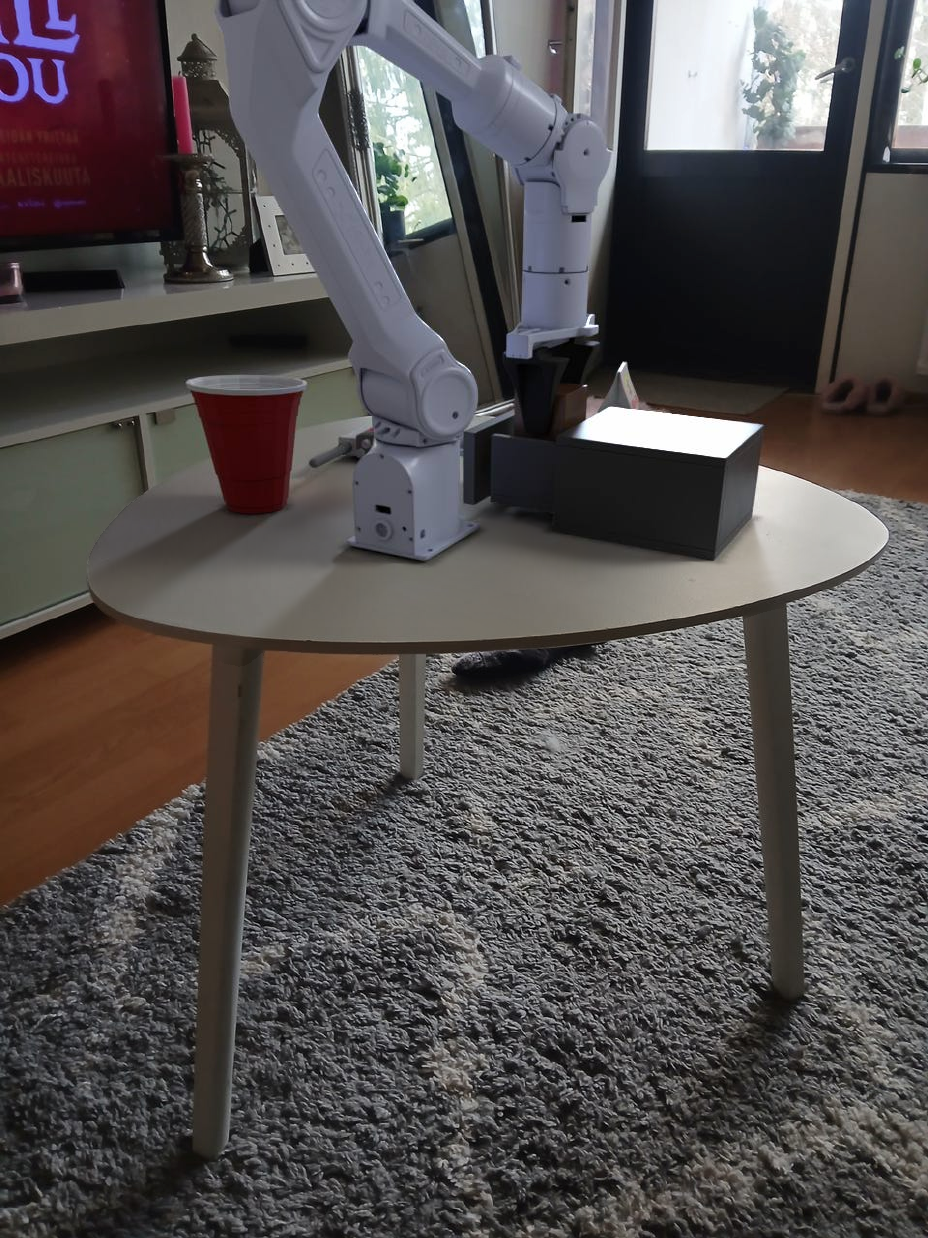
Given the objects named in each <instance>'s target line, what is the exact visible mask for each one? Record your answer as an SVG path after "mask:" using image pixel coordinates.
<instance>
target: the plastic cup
mask: <svg viewBox="0 0 928 1238" xmlns="http://www.w3.org/2000/svg"><path fill="white" fill-rule="evenodd" d="M185 386H186V388H187V389H188V390H190V393H191V395H192V398H193V401H194V406H196V409H197V413H198V417H199V418H200V421H201V424H202V425H201V426H202V428H203V432H204V435H205V436H204V437H205V439H206V444H207V447H208V450H209V454H210V458H211V462H212V465H213V469H214V473H215V475H216V476H217V480H218V484H219V487H220V490H221V495H222V498H223V501H224V503H225V505H226V508H227V509H229V510H230V511H231V512H234V513H238V514H247V515H248V514H250V515H253V514H266V513H270V512H275V511H278V510H280V509H283V508H284V507H286V506H287V504H288V499H289V495H290V481H291V472H292V470H293V469H292V468H293V461H294V460H293V459H294V448H295V436H296V427H297V419H298V416H299V408H300V405H301V399H302V397H303V393H304V391H305V390H307V386H308V381H306V380H303V379H300V378H294V377H287V376H279V375H278V376H277V375H263V374H262V375H261V374H229V375H227V374H225V375H209V376H199V377H195V378H190V379H187V380H186V381H185Z"/></svg>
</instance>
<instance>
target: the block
mask: <svg viewBox="0 0 928 1238" xmlns="http://www.w3.org/2000/svg"><path fill="white" fill-rule="evenodd" d="M588 386H589V385H588V384H583V385H582V384H572V383H563V382H560V383H559V386H558V390H557V394H556V399H555V405H554V413H553V419H552V423H551V427H550V430H549V433H548V434H547V435H540V434H532V433H526V431H525V428H524V424H523V419H522V414H521V409H520V405H519V401H518V397H517V393H516V390H515V389H514V409H515V410H514V436H517V437H524V438H531V439H539V440H546V441H553V442H556V436H557V435H559V434H561V433H562V432H564V431H566V430H568V429H570V428H572V427H574V426H576V425H578V424H579V423H581V422H583V421H585V420H586V419H587V404H588V389H589V387H588Z"/></svg>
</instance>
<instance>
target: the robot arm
mask: <svg viewBox="0 0 928 1238" xmlns="http://www.w3.org/2000/svg"><path fill="white" fill-rule="evenodd" d="M213 17H214V19H215V22H216V24H217V26H218V29H219V30H220V32H221V34H222V39H223V47H224V48H223V49H224V59H225V60H224V61H225V69H226V70H225V71H226V79H227V90H228V102H229V110H230V116H231V119H232V121H233V124H234V126H235V129H236V130H237V132H238V134H239V135H240V138H241V139H242V142H243V143H244V145H245V147H246V149H247V151H248V152H249V154H250V156H251V158H252V159H253V162H254V163H255V165H256V167H257V169H258V170H259V172H260V174H261V176H262V177H263V179H264V181H265V183H266V185H267V187H268V189H269V191H270V192H271V194H272V196H273V198H274V199H275V201H276V203H277V205H278V207H279V209H280V210H281V212H282V214H283V217H284V218H285V220H286V221H287V224H288V225H289V227H290V229H291V230H292V233H293V234H294V236H295V238H296V239H297V242H298V243H299V245H300V247H301V249H302V250H303V252H304V254H305V256H306V258H307V259H308V261H309V264H310V265H311V267H312V269H313V271H314V273H315V274H316V277H318V280H319V281H320V284H321V285H322V287H323V289H324V290H325V292H326V295H327V296H328V298H329V300H330V301H331V303H332V305H333V307H334V309H335V310H336V312H337V314H338V317H339V318H340V321H341V322H342V323H343V325H344V327H345V328H346V330H347V333H348V334H349V336H350V338H351V340H352V344H351V347H350V348H349V351H348V353H347V359H348V361H349V363H350V365H351V366H352V369H353V371H354V374H355V378H356V391H357V397H358V400H359V402H360V405H361V406H362V408H363V409H364V410H365V411H366V412H367V414H369V415H370V416H371V422H372V423H371V427H372V429H373V430H374V440H373V445H372V447H371V449H370V451H369V452H368V453H367V454H366V455H364V456H363V457H362V458H361V459H359V460H358V461H357V463H356V465H355V467H354V470H353V473H352V495H353V497H352V498H353V515H354V517H353V519H354V535H353V536H351V537H349V538H348V539H347V540H346V544H347V545H348V546H350V547H355V548H359V549H364V550H369V551H373V552H379V553H383V554H387V555H393V556H398V557H402V558H406V559H412V560H416V561H417V560H418V561H422V562H423V561H425V562H426V561H429V560H431V559H432V558H434V557H435V556H437V555H438V554H440V553H442V552H443V551H445V550H447V549H448V548H450V547H451V546H453V545H454V544H456V543H458V542H459V541H461V540H463V539H464V538H467V536H469V535H470V534H472V533H474V532H475V531H477V530H479V528H480V524H479V523H478V522H475V521H469V520H464V519H461V456H460V440H462V439H463V431H466V430H467V429H468V427H469V426H470V425H471V423H472V421H473V419H474V417H475V415H476V412H477V408H478V403H479V390H478V385H477V381H476V378H475V377H474V375H473V373H472V371H470V369H468V368H467V366H465V365H464V364H462V363H461V362H460V361H458V360H457V359H456V358H455V357H454V356H453V355H452V353H451V351H450V349H449V348H448V346H447V344H446V342H445V340H444V339H443V338H442V337H441V336H440V335H439V334H438V333H437V332H435V331H434V330H433V329H432V328H431V327H430V326H429V325H428V324H427V323H426V322H425V321H423V320H422V318H420V317H419V315H417V313H416V311H415V309H414V307H413V305H412V303H411V301H410V299H409V297H408V295H407V293H406V291H405V289H404V287H403V284H402V283H401V281H400V279H399V277H398V275H397V273H396V270H395V268H394V267H393V264H392V262H391V261H390V258H389V256H388V255H387V252H386V250H385V248H384V246H383V244H382V242H381V240H380V238H379V236H378V234H377V232H376V230H375V227H374V226H373V223H372V222H371V220H370V217H369V216H368V214H367V211H366V209H365V208H364V205H363V203H362V201H361V199H360V197H359V195H358V193H357V191H356V189H355V187H354V184H353V183H352V181H351V179H350V177H349V175H348V173H347V171H346V169H345V167H344V165H343V163H342V161H341V158H340V157H339V154H338V152H337V150H336V148H335V146H334V144H333V143H332V140H331V138H330V137H329V134H328V132H327V130H326V128H325V126H324V124H323V122H322V120H321V118H320V116H319V115H320V114H319V108H320V105H321V102H322V98H323V95H324V92H325V87H326V84H327V81H328V78H329V74H330V72H331V71H332V69H334V66H335V65H336V63H337V62H338V60H339V59H340V57H341V56H342V54H343V52H344V50H345V49H346V47H365V48H368V49H369V50H371V51H372V52H374V53H375V54H377V55H379V56H380V57H382V58H383V59H384V60H387V61H388V62H389V63H391V64H392V65H394V66H396V67H397V68H399V69H400V70H402V71H403V72H405V73H406V74H407V75H410V76H411V77H413V78H415V79H416V80H417V81H419V82H421V83H422V84H424V85H425V86H427V87H428V88H430V89H432V90H433V91H435V92H436V93H438V94H439V95H441V96H442V97H443V98H445V99H447V100H449V101H450V103H451V110H452V117H453V120H454V121H453V122H454V123H455V125H456V127H458V128H459V129H460V130H462V131H463V132H465V133H466V134H467V135H469V136H470V137H471V138H472V139H474V140H476V141H477V142H478V143H480V144H481V145H483V146H484V147H486V148H487V149H488V150H490V151H491V152H492V153H494V154H495V155H497V156H498V157H499V158H501V159H502V160H504V161H505V162H506V163H508V164H509V168H510V171H511V174H512V176H513V178H514V180H515V181H516V183H517V184H518V186H520V187H524V191H523V228H522V230H523V232H522V233H523V234H522V235H523V236H522V270H521V271H522V272H521V273H522V274H521V310H520V311H521V312H520V313H521V316H520V319H521V320H520V322H518V323H517V325H516V326H515V328H514V329H513V330H512V331H511V332H507V334H506V349H505V351H503V352H502V365H503V366H504V368H505V370H506V372H507V373H508V375H509V377H510V379H511V382H512V384H513V387H514V391H515V390H516V393H517V397H518V401H519V405H520V409H521V414H522V419H523V424H524V428H525V431H526V433H532V434H540V435H547V434H548V433H549V430H550V427H551V423H552V419H553V413H554V405H555V399H556V394H557V390H558V386H559V383H560V382H563V383H572V384H582V385H585V381H586V379H587V375H588V373H589V371H590V369H591V367H592V365H593V363H594V361H595V359H596V358H597V356H598V354H599V353H600V349H601V342H599V341H595V340H586V339H585V338H587V337H588V338H589V337H593V336H594V335H597V334H598V333H599V324H595V318H596V317H595V316H596V315H595V314H594V313H587V312H588V311H587V310H588V294H589V293H588V291H589V289H588V288H589V272H590V271H589V270H590V258H591V257H590V256H591V255H590V254H591V236H592V218H593V217H592V215H593V213H594V211H595V207H596V206H598V197H599V195H598V194H599V189H600V186H601V184H602V182H603V181H604V179H605V177H606V175H607V173H608V171H609V168H610V165H611V160H612V159H611V158H612V152H611V151H609V150H608V148H607V147H608V144H607V140H606V136H605V134H604V132H603V130H602V128H601V127H600V126H599V124H598V123H597V121H596V120H595V119H594V118H592V117H591V116H590V115H588V114H585V113H582V112H581V113H580V112H578V113H568V112H567V110H566V108H565V107H564V106H563V105H562V103H563V100H562V98H561V97H559V96H558V95H557V94H556V93H554V92H553V93H547V92H546V91H544V90H543V89H542V88H541V87H540V86H538V85H537V84H536V83H535V82H533V81H532V80H531V79H529V78H528V77H527V76H526V75H525V74H524V73H522V72H521V69H522V67H523V63H522V62H521V61H520V60H519V59H518V58H516V57H515V56H513V55H511V54H510V55H503V56H501V55H499V54H487V55H484V56H482V57H480V58H477V57H476V56H474V55H473V54H472V53H471V52H470V51H468V49H467V48H465V47H464V46H463V45H462V44H461V43H459V41H458V40H457V39H455V37H453V36H452V35H451V34H450V33H449V32H447V30H445V29H444V28H443V27H442V26H441V25H440V24H439V23H438V22H436V21H435V20H434V19H433V18H432V17H431V16H430V15H429V14H427V13H426V11H424V10H423V9H422V8H421V7H420V6H419V5H418V4H416V3H415V2H414V1H413V0H216V1H215V5H214V9H213Z"/></svg>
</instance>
